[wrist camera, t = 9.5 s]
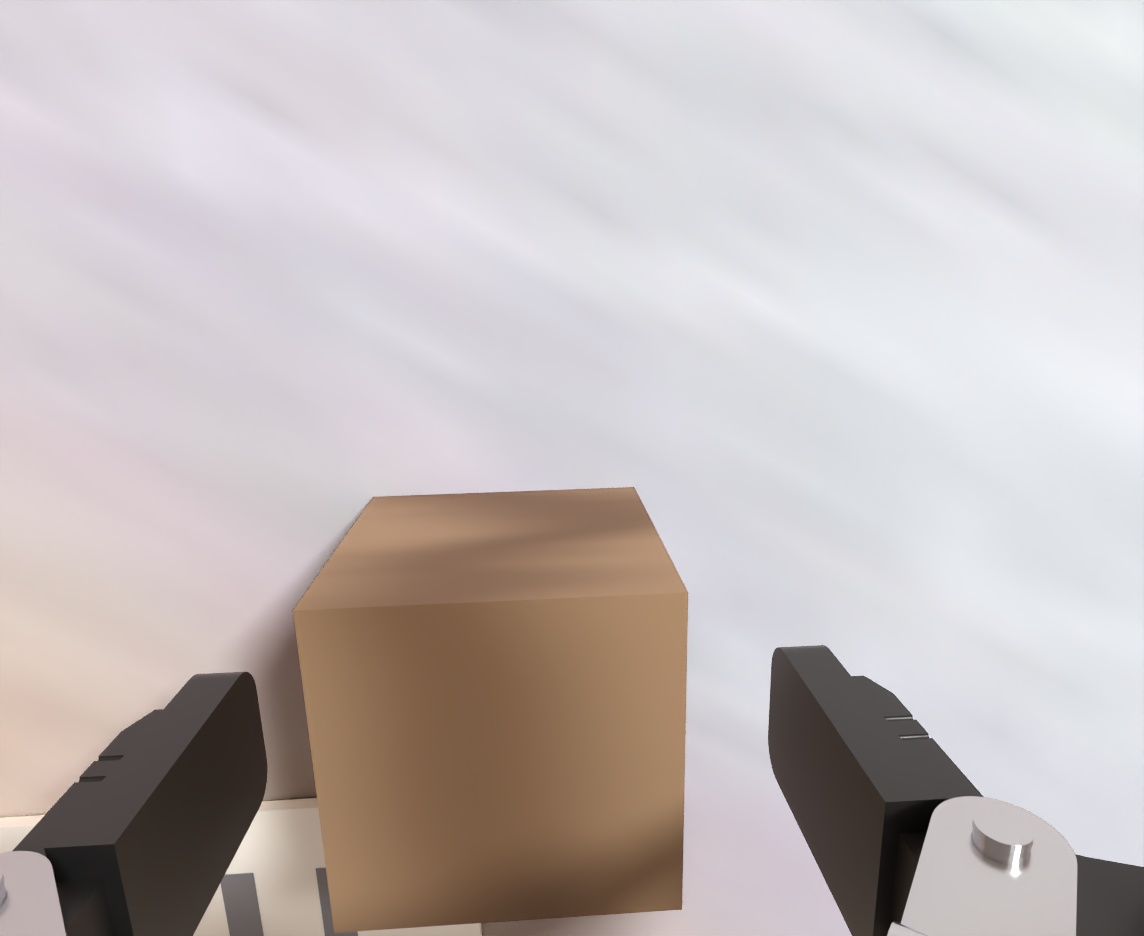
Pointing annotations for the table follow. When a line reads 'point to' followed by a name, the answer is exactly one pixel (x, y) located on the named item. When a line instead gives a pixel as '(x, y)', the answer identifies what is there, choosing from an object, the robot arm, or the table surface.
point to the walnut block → (497, 710)
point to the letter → (270, 879)
